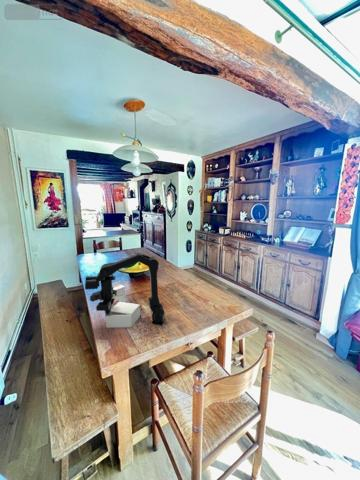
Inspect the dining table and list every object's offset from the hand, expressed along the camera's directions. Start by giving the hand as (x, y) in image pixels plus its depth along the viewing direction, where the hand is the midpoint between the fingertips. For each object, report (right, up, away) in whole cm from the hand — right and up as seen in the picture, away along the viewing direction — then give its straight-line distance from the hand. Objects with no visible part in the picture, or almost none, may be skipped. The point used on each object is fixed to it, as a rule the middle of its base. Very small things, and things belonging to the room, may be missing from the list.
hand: (108, 313), depth 112 cm
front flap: (+5, -9, +2) cm, 10 cm away
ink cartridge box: (-4, -4, +31) cm, 31 cm away
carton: (+7, -7, +10) cm, 14 cm away
